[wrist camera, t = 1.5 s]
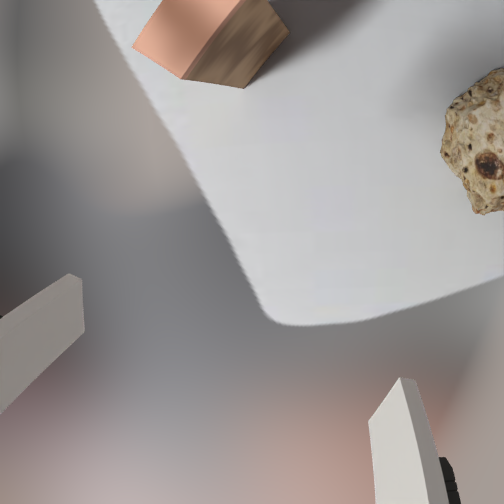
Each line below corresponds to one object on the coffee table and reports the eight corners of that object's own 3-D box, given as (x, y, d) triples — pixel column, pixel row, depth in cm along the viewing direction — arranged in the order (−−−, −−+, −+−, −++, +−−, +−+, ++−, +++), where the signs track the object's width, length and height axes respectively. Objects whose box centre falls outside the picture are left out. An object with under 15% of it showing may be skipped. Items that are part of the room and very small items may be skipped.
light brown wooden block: (252, 9, 25) (196, -42, 13) (290, 32, 25) (254, -16, 13) (208, 64, 29) (131, 47, 17) (243, 88, 29) (180, 79, 17)
